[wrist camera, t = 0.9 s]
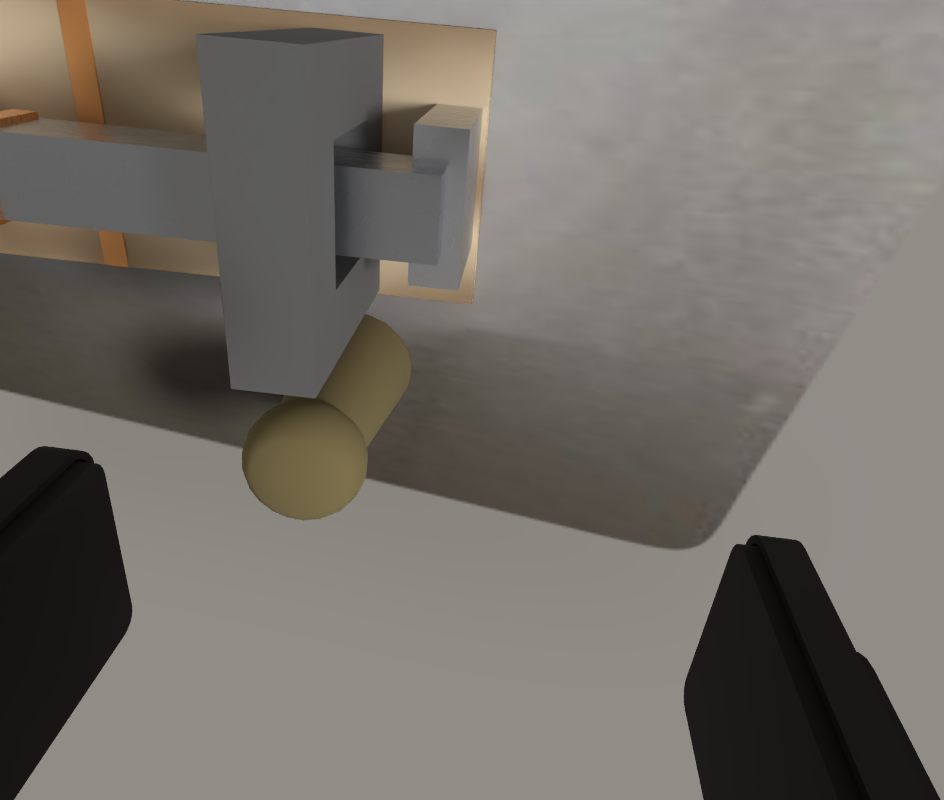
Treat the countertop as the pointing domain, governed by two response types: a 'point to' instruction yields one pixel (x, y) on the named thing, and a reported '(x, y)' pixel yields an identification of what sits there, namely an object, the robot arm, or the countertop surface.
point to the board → (180, 105)
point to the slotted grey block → (287, 195)
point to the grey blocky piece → (190, 201)
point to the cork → (328, 429)
